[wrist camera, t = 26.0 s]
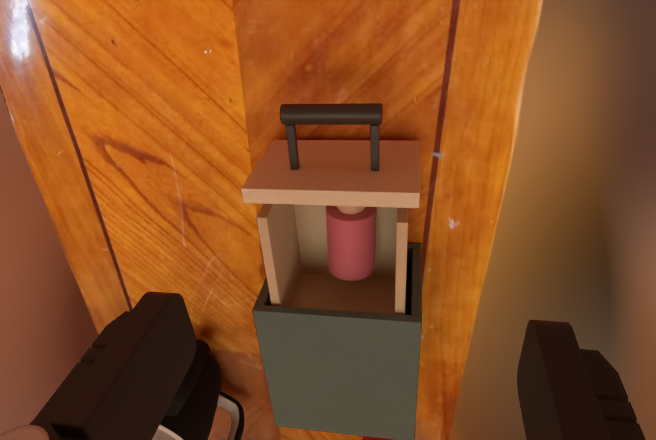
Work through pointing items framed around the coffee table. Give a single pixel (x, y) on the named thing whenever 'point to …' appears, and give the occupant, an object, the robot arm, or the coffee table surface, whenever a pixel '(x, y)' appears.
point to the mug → (199, 402)
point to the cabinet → (344, 364)
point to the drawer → (334, 190)
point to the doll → (351, 241)
